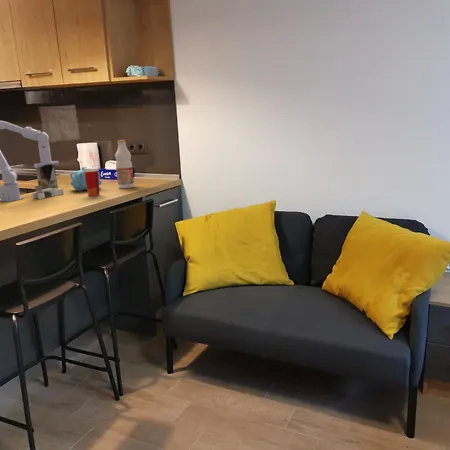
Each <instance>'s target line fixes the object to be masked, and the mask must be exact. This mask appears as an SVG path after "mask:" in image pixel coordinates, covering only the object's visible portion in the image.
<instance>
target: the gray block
mask: <svg viewBox="0 0 450 450" xmlns="http://www.w3.org/2000/svg"><path fill="white" fill-rule="evenodd" d="M44 195H45V198H44V199H46V198H49V197H50V198H52V196H53V195H51V192H45V193H44Z"/></svg>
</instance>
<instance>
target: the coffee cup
mask: <svg viewBox="0 0 450 450" xmlns="http://www.w3.org/2000/svg"><path fill="white" fill-rule="evenodd" d="M98 168H99V167H87V168H85V169H84V171H83V172H84V175H85V180H86V186H87V190H86V191H87V195H88V197H97V196H99V195H100V185H99V181H100V179H99V177H98V172H99V169H98Z"/></svg>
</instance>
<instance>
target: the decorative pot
mask: <svg viewBox="0 0 450 450" xmlns="http://www.w3.org/2000/svg"><path fill="white" fill-rule="evenodd" d="M85 168H88V167H87V166H82V167H81V169H80V170H75V171H72V172H70V174H69V175H70V179H71V180H72V181H71V182H70V186H72V188H73V189H74V190H75V191H77V192H82V191H83V190H84V191H85V190H86V191H87V186H86V180H85V175H84V172H83V171H84V169H85ZM98 177H99V186H101V185H102V184H103V182H102V180H100V179H101V173H100V171H98Z"/></svg>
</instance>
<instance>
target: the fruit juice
mask: <svg viewBox="0 0 450 450" xmlns="http://www.w3.org/2000/svg"><path fill="white" fill-rule="evenodd" d="M126 143H127V140H125V139H119V140H117V151H116V152H115V154H114V155H115V160H116V163H115V168H116V177H117V179H116V180H117V186H118V189H131V188H134V187H135V181H134V172H133V171H134V170H133V163H132V161H131V160H132V159H131V157H132V154H131V152H130V151H129V149H128V148H127V144H126Z"/></svg>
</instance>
